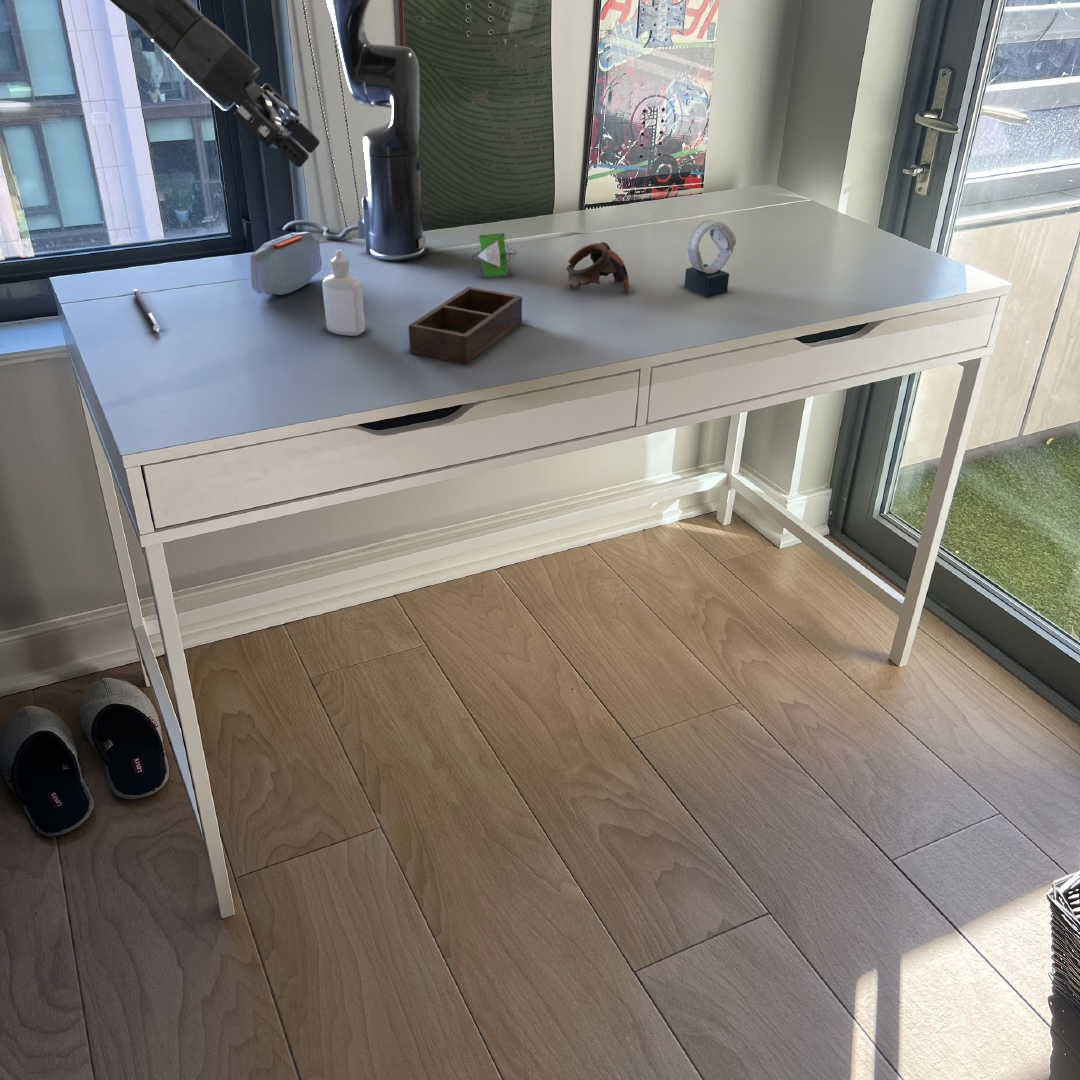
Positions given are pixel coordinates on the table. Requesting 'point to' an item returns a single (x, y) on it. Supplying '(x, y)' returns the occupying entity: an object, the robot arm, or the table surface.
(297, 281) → the white plastic case
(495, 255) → the geometric puzzle
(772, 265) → the table surface
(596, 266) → the broken clay pot
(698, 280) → the watch
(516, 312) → the brown wooden divided tray
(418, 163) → the robot arm
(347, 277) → the eye dropper bottle
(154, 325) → the pen
